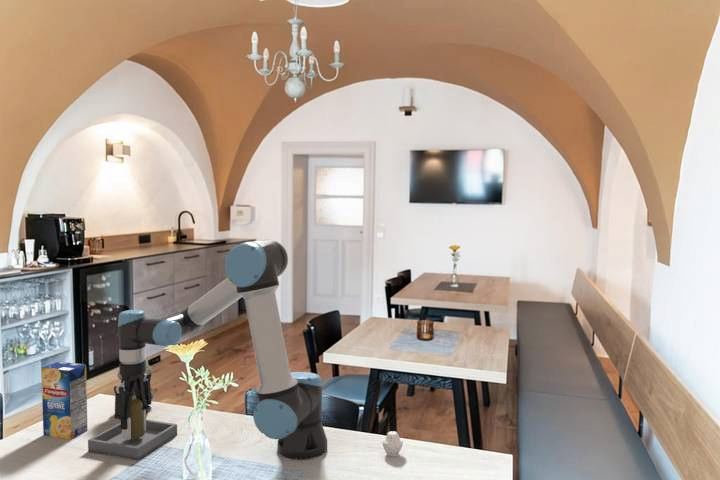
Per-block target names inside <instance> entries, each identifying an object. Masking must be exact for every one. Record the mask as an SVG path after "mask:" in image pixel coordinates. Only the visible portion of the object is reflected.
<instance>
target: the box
mask: <svg viewBox="0 0 720 480" xmlns="http://www.w3.org/2000/svg"><path fill="white" fill-rule="evenodd" d="M144 432H145V434H144V436H142V437H140V438H138V439H131V440H128V439H122V429H121V422H119V423H117V424H115V425H114V426H112V427H110V428H107V429H106V430H104V431H102V432H100V433H99V434H97V435H94V436H93V437H91V438H88V439H87V451H88V452H90V453H95V454H100V455H101V454H102V455H106V456H113V457H118V458H123V459H129V460H133V461H139V460H141V459H142V458H144V457H146V456H147V455H149V454H150V453H151V452H153V451H155V450H157V449H158V448H159V447H161V446H163V445H164V444H165V443H167V442H168V441H170V440H172V439H173V438H175V437H176V436H178V424H177V423H172V422H165V421H160V420H159V421H158V420H152V419H146V430H145V431H144Z"/></svg>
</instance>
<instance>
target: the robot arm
mask: <svg viewBox="0 0 720 480" xmlns="http://www.w3.org/2000/svg"><path fill="white" fill-rule="evenodd" d="M288 264H289V257H288V253H287V250H286V249H285V247H284V246H283V245H282V244H281V243H280V242H278V241H276V240H274V239H273V240H272V239H264V240H263V239H262V240H253V241H251V240H250V241H246V242H243V243H239V244H237V245H235V246H234V247H232V248H231V249H230V250H229V252H228V253H227V255H226V257H225V260H224V272H225V275H226V277H227V278H224V280H222V281H221V282H220V283H218V284H217V285H216V286H214V287H213V288H211V289H210V290H209V291H207V292H206V293H205V294H203V295H202V296H200V298H198V299H197V300H195V301H194V302H193V303H191V304H190V305H189V306H187V307H186V308H184V309H183V310H182V311H180V312H179V313H176V314H175V313H174V314H173V315H168V316H165V317H161V318H158V319H157V318H148V317H147V318H146V312H145V311H144V310H141V309H128V310H124V311H121V312H119V314H118V320H117V321H118V323H117V330H118V331H117V332H118V351H119V353H118V354H119V357H118V358H119V359H118V360H119V365H118V366H119V367H118V368H119V369H118V371H119V372H120V375H121V376H122V381H121V380H120V384H118V385H115V386H114V387H113V390H114V395H115V396H114V419H116V420H117V419H118V420H120V423H121V429H122V439H128V440H130V439H131V418H128V417H129V412H130V406H131V401H132V396H133V395H134V392H135V395H136V399H139V400H141V401H142V403H143V407H142V409H141V414H142V420H143V426H144V431H145V430H146V420H147V416H148V415H147V414H148V413H147V410H146V409H149V408H150V407H151V405H152V399H151V388H152V387H151V380H152V379H151V378H152V375H150V374H144V373H145V372H146V361H145V360H144V359H147V354H146V353H147V351H146V350H147V349H146V345H154V346H155V345H156V346H161V347H166V346H167V347H170V346H169V345H173V346H175V345H177V344H178V342H179V341H180V340H181V338H183V337H186V336H188V335H192V334H195V333H196V332H198V331H200V330H202V329H203V327H204V325H206V323H208V322H209V321H211V319H213V318H215V317H216V316H218V315H220V313H222V312H223V311H224V310H225V309H228V308H229V307H231V306H232V305H233V304H235V302H237V301H239V300H240V299H241V298H243V299H244V305H245V310H246V315H247V319H248V324H249V330H250V334H251V335H250V336H251V341H252V345H253V351H254V356H255V361H256V366H257V371H258V376H259V382H260V383H259V385H258V386H257V388H256V390H255V391H256V392H255V393H256V396H257V402H258V403H257V404H256V406H255V408H254V409H253V416H252V417H253V422H254V424H255V427H256V429H257V430H258V431H259V432H260V433H261V434H263V435H264V436H265V437H267V438H269V439H272V440H277V443H276V444H277V447H276V449H277V452H278V454H279V455H280V456H282V457H284V458H287V459H291V460H309V459H314V458H318V457H320V456H322V455H323V454H325V453H326V451H327V450H328V438H327V435H326V433H325V428H324V425H323V422H322V420H323V419H322V418H323V417H322V414H323V413H322V412H323V409H322V408H323V401H322V400H323V384H322V378H321V376H320V375H319V374H318V373H314V372H309V371H293V372H292V371H291V369H290V364H289V363H290V362H289V358H288V354H287V353H288V352H287V349H286V348H287V347H286V343H285V338H284V333H283V332H284V331H283V327H282V321H281V317H280V311H279V307H278V306H279V305H278V301H277V297H276V291H277V290H278V288H279V286H280V283H279V278H278V277H280V276H282V274H283V273H284V272H285V271H286V269H287V266H288ZM128 392H130V393H128ZM146 400H148V401H146ZM148 405H149V406H148ZM124 414H125V415H124Z"/></svg>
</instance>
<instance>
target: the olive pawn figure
mask: <svg viewBox="0 0 720 480" xmlns="http://www.w3.org/2000/svg"><path fill="white" fill-rule="evenodd" d="M142 407H143V403H142V401H141V400H139V399H133V400H132V401H131V406H130V412H129V417H128V418H131V439H138V438H140V437H142V436H144V434H145V432H144V426H143V420H142V414H141V409H142ZM131 439H130V440H131Z"/></svg>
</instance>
